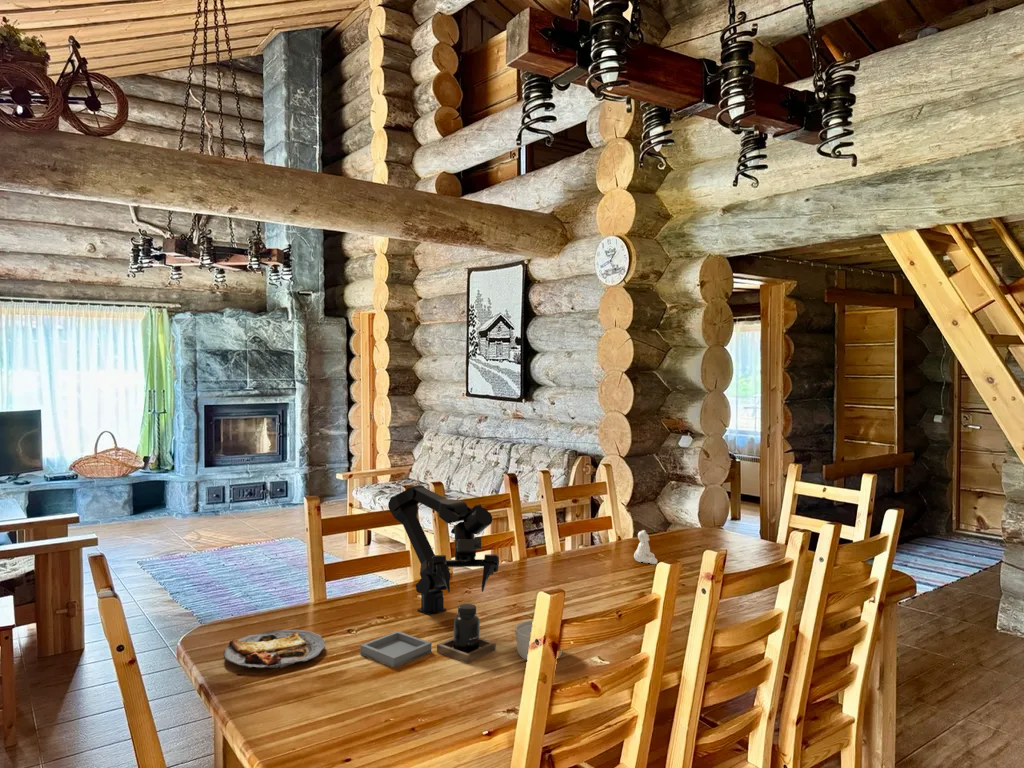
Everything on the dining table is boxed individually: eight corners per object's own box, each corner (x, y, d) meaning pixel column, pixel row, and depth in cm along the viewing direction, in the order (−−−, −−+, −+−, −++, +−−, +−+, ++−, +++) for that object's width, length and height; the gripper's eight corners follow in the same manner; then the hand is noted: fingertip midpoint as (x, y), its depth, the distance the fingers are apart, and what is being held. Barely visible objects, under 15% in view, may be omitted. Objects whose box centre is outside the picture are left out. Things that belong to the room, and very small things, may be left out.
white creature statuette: (658, 565, 278) (659, 533, 278) (635, 564, 279) (636, 533, 278) (653, 558, 288) (654, 527, 288) (631, 557, 288) (632, 527, 288)
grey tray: (360, 654, 191) (360, 644, 191) (397, 639, 201) (397, 630, 201) (394, 668, 183) (394, 658, 183) (431, 652, 193) (431, 642, 193)
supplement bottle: (475, 657, 190) (476, 611, 190) (450, 655, 192) (450, 609, 191) (482, 647, 197) (482, 603, 197) (457, 645, 198) (457, 601, 198)
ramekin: (570, 649, 197) (571, 623, 197) (557, 668, 184) (558, 641, 184) (523, 642, 201) (524, 617, 201) (507, 660, 189) (508, 634, 188)
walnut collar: (436, 652, 193) (436, 644, 193) (465, 640, 202) (465, 632, 202) (467, 663, 187) (467, 655, 186) (495, 650, 195) (495, 642, 195)
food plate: (228, 680, 175) (229, 665, 175) (218, 646, 196) (218, 633, 196) (333, 663, 187) (334, 650, 187) (313, 634, 207) (313, 621, 207)
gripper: (432, 526, 205) (431, 577, 195) (498, 526, 207) (501, 576, 197) (432, 547, 214) (431, 597, 203) (496, 546, 215) (498, 596, 205)
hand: (465, 591), depth 202 cm, fingers open, 9 cm apart
